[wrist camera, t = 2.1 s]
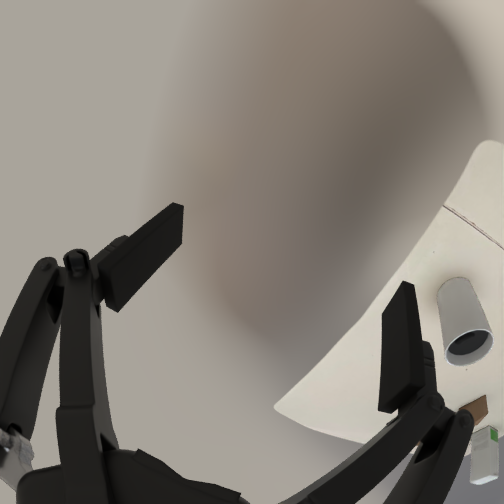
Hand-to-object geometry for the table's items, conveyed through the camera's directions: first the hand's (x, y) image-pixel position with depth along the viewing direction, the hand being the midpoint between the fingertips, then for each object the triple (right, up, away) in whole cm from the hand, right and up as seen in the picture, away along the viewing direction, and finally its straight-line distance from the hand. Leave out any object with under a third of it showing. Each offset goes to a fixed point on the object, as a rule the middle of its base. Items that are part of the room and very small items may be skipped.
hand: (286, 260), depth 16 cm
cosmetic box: (+62, -49, +31) cm, 85 cm away
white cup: (+26, -5, +17) cm, 31 cm away
